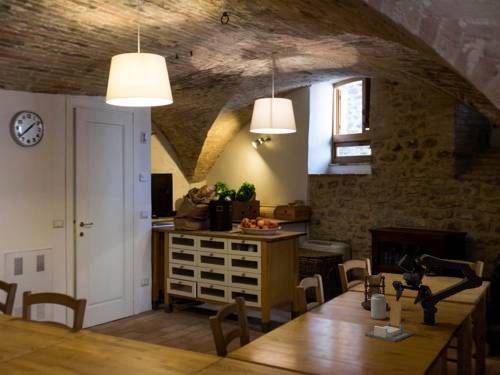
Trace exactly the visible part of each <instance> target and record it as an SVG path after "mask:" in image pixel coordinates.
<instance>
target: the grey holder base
mask: <svg viewBox="0 0 500 375" xmlns="http://www.w3.org/2000/svg"><path fill="white" fill-rule="evenodd" d="M398 327H399V328H397V327H394V326H391V324H390V321H387V322H386V325H384V326H378V325H374V326H373V330H371V331H368V332H366V333H364V335H365V337H369V338H374V339H378V340H382V341H387V342H390V343H391V342H392V343H396V342H398V341H401V340H404V339H406V338H408V337H410V336H412V335H414V331H410V330H404V324H403V323H400V325H399V326H398Z"/></svg>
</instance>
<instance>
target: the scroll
mask: <svg viewBox="0 0 500 375" xmlns="http://www.w3.org/2000/svg"><path fill="white" fill-rule="evenodd" d="M363 278H364V286H363V287H364V293H363V295H364V298H363V299H364V301H362V302H361V307H363V308H364V309H365V310H366V311H368V309H371V297H372V295H373V294H382V295H384V297H385V298H386V293H385V289H386V282H385V280H386V277H385V275H382V272H380V275H379V274H378V275H376V274H375V275H374V274H373V275H371V274H370V272H368V271H367V275H364V277H363ZM381 283H382V284H381ZM381 288H382V289H381ZM387 308H389V303H387V302H386V309H387Z"/></svg>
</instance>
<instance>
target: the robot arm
mask: <svg viewBox="0 0 500 375" xmlns="http://www.w3.org/2000/svg"><path fill="white" fill-rule="evenodd" d="M397 265H398V266H399V267H400V268H402V269H403V270H405V271H406V272H404V273H403V276H402V280H404V283H405V284H403V282H402V281H401V280H393V281H392V283H391V286H392V287H393V289H394V291H395V301H398V302H399V300H400V298H401V297H402V295H403V293H404V291H405V290H409V291H415V292H417V295H416V297H415V299H414V301H413V305H414V306H415V305H419V306H420V307H421V308H422V310H423V317H422V318H423V320H422V321H420V324H423V325H428V326H435V325H438V324H439V321H436V316H437V315H436V314H437V313H438V310H439V309H438V308H437V307H436V305H437V304H438V303H439V302H440V301H443V300H446V299H448V298H450V297H452V296H455V295H457V294H458V293H461V292H463V291H466V290H473V289H478V288H481V287H482V286H483V283H484V279H483V278H482V277H481V276H479V275H478V274H477V273H476V272H475V271H474V270H473V269H472V267H471V266H470V264H469V263H467V262H465V261H455V260H450V259H449V260H448V259H441V258H439V257H436V256H432V255H429V254H422V255H420V257H417V258H415V259H413V258H412V257H411V256H409V255H408V254H405V255H404V256H403V257H402V258H400V260H399V261H398V263H397ZM429 268H430V269H431V268H444V269H449V270H450V269H452V270H459V271H462V273H463V275H464V277H463V279H462V280H461V281H459V282H456V283H454V284H452V285H450V286H448V287H446V288H443V289H441V290H438V291H436V292H433V293H432V289H431V288H430V286H429V285H426V284H423V279H424V276H427V275H429V274H431V272H430V270H429ZM410 272H411V273H410Z"/></svg>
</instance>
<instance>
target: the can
mask: <svg viewBox="0 0 500 375" xmlns="http://www.w3.org/2000/svg"><path fill="white" fill-rule="evenodd" d="M370 300H371V308H370V315H371V318H372V319H373V320H384V319H386V318H387V308H386V303H387V298H386V296H385V297H384V295H382V293H381V294H373V295H372V297H371V299H370Z"/></svg>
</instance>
